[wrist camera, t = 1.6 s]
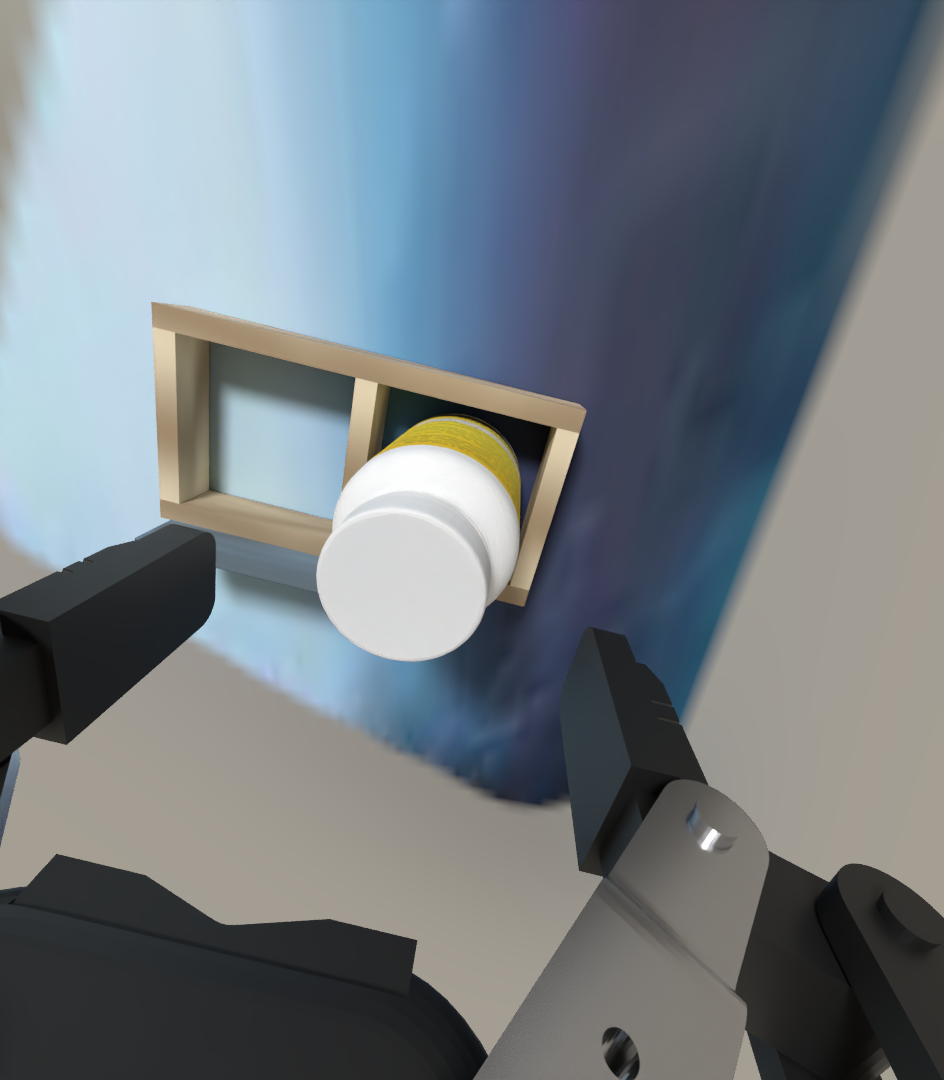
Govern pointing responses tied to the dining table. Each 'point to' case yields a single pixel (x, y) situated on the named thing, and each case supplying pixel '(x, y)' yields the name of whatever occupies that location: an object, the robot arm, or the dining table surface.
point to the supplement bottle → (423, 539)
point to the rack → (297, 538)
